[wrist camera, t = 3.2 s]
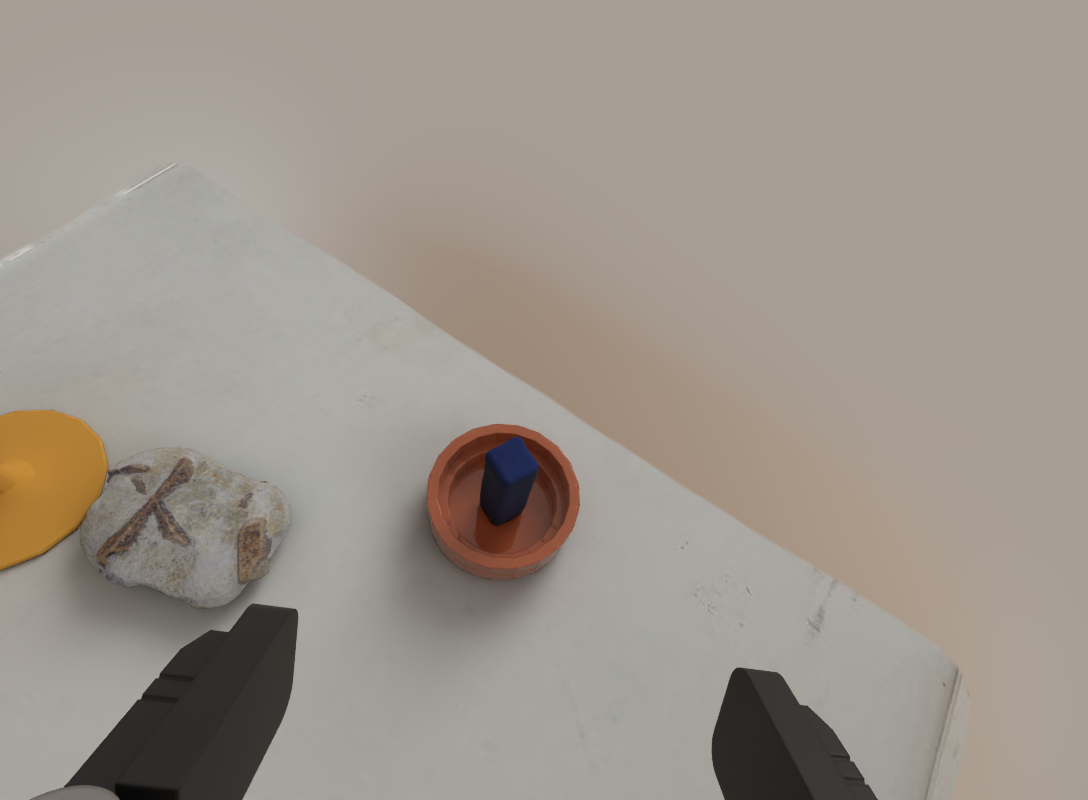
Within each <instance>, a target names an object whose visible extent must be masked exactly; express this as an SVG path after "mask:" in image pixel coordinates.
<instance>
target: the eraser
mask: <svg viewBox="0 0 1088 800" xmlns="http://www.w3.org/2000/svg"><path fill="white" fill-rule="evenodd" d="M538 469H539V465H538V462H537V460H536V459H535V458H534V457H533V456H532V454H531V453H530V451H529V450H528V449H527V447H526V445H525V443H524V441H523V440H522V439H521V438H520V437H518V436H517V437H513V438H511V439H509V440H508V441H506V442H504V443H503V444H501V445H499V446H497V447H495V448H492V449H490V450H489V451H488V452H487V453H486V455H485V463H484V473H483V478H482V484H481V491H480V506H481V508H482V510H483V512H484V513H485V514H486V516H487V517H488V519H489V521H490V522H491V523H492V524H493V525H495V526H500V525H502V524H504V523H506V522H508V521H510V520H512V519H514V518H515V517H517V516H518V515H520V514H521V512H522V511H523V509H524V508H525V507H526V504H527V500H528V498H529V494H530V491H531V489H532V487H533V483H534V482H535V480H536V478H537V475H538Z"/></svg>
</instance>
